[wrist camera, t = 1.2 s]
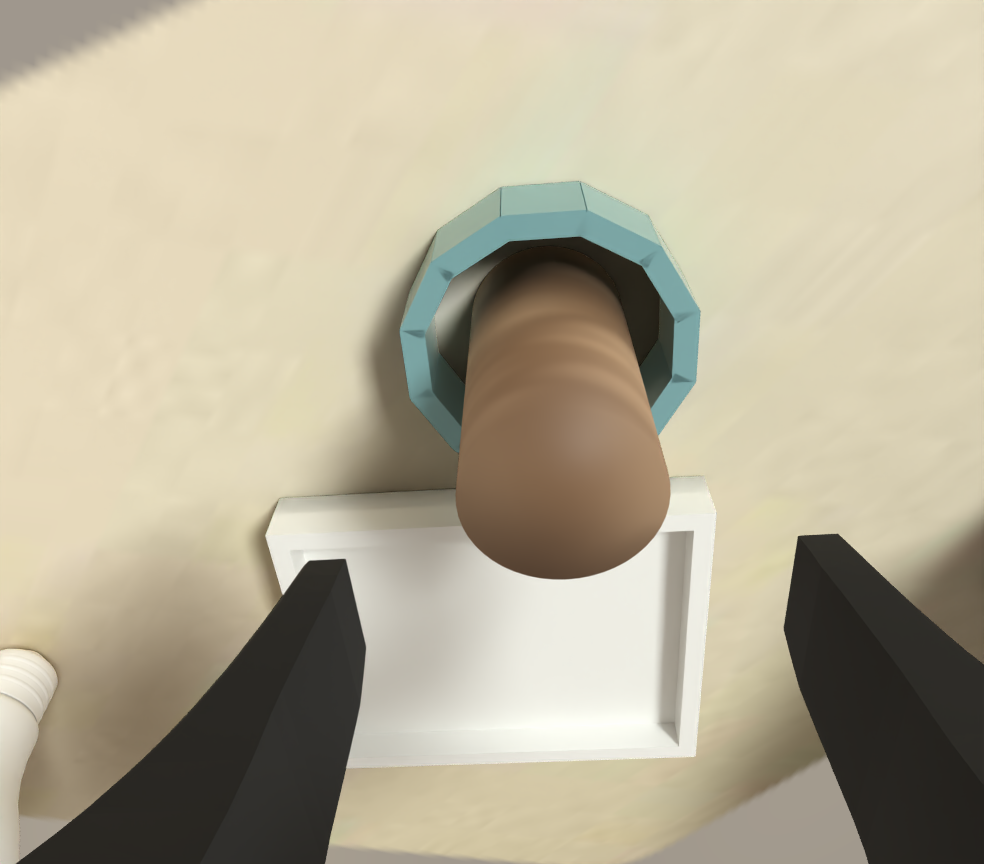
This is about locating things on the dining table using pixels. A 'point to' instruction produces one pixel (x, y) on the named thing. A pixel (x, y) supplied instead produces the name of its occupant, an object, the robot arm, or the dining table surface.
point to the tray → (510, 634)
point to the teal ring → (542, 218)
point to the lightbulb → (19, 733)
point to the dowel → (556, 423)
